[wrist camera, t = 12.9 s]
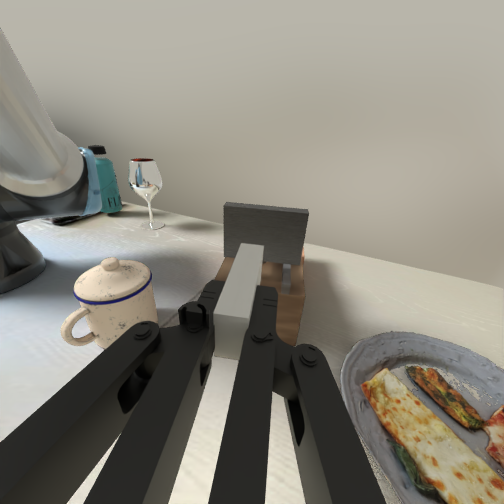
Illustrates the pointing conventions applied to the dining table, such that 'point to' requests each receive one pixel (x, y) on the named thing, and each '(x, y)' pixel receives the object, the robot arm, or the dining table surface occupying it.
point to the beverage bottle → (106, 182)
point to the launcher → (280, 294)
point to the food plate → (428, 418)
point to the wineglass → (146, 185)
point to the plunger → (265, 231)
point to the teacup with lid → (111, 301)
